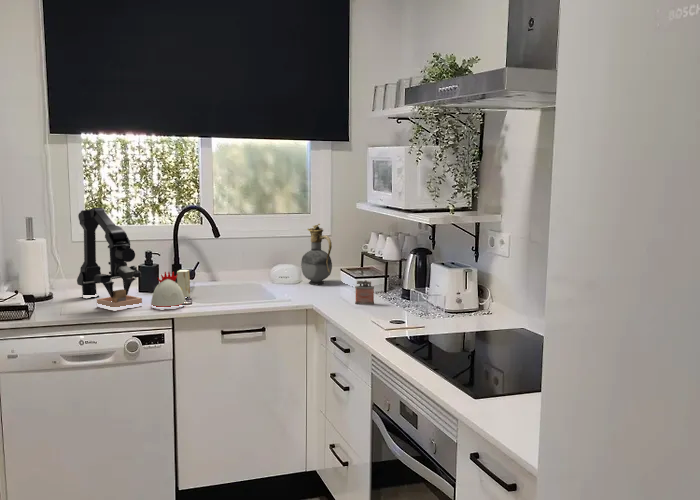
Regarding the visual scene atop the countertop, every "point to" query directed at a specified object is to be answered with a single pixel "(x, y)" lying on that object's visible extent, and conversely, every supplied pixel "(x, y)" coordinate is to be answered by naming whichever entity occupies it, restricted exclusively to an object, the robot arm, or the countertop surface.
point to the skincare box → (184, 281)
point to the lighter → (364, 293)
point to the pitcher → (317, 258)
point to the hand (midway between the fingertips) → (119, 296)
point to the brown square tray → (120, 301)
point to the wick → (118, 295)
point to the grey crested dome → (167, 292)
